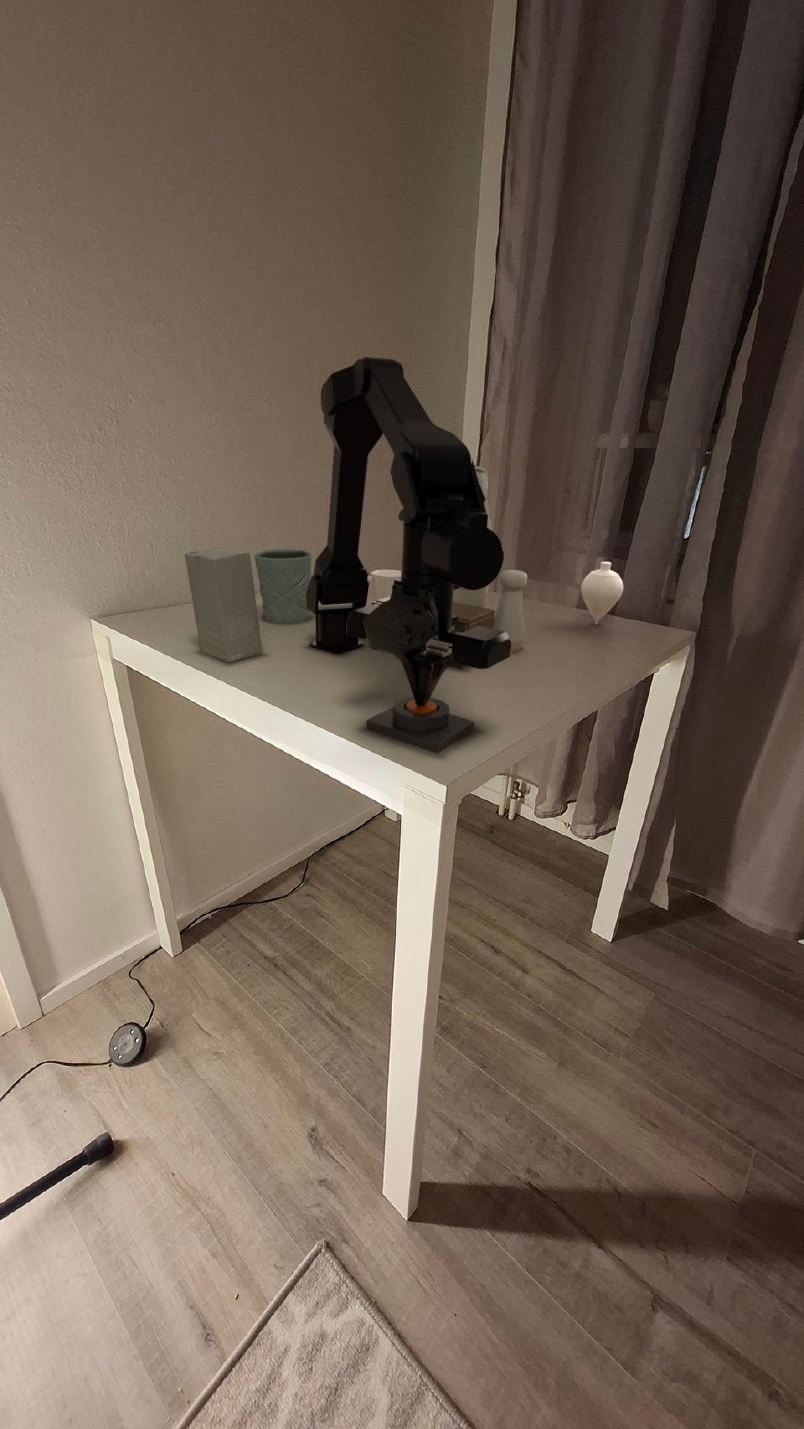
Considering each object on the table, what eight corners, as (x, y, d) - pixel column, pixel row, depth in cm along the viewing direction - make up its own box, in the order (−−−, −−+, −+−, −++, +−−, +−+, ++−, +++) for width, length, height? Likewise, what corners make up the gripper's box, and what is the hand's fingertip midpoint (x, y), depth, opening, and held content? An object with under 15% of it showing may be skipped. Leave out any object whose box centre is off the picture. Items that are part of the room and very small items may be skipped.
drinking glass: (323, 618, 117) (322, 554, 112) (281, 628, 110) (278, 560, 105) (289, 608, 123) (287, 547, 118) (247, 617, 116) (243, 552, 111)
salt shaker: (523, 656, 100) (532, 575, 95) (487, 652, 101) (495, 573, 96) (523, 645, 105) (532, 569, 100) (490, 642, 106) (497, 566, 101)
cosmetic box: (263, 655, 96) (257, 552, 90) (223, 665, 91) (213, 557, 85) (233, 643, 101) (225, 544, 95) (193, 652, 96) (182, 549, 90)
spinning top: (584, 617, 124) (593, 557, 119) (621, 624, 120) (633, 562, 115) (569, 625, 119) (579, 562, 114) (608, 632, 114) (620, 567, 110)
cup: (404, 619, 119) (405, 577, 115) (352, 616, 119) (352, 574, 116) (406, 610, 125) (407, 570, 122) (357, 607, 125) (357, 567, 122)
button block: (366, 729, 73) (366, 706, 71) (405, 708, 79) (406, 687, 77) (437, 754, 67) (438, 729, 66) (473, 730, 73) (475, 707, 72)
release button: (399, 719, 72) (400, 705, 71) (417, 710, 75) (417, 696, 74) (424, 727, 70) (425, 713, 69) (441, 717, 73) (442, 704, 72)
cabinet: (465, 668, 94) (469, 619, 91) (375, 645, 103) (375, 600, 100) (490, 656, 100) (495, 609, 96) (403, 634, 109) (404, 592, 106)
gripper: (311, 568, 64) (315, 705, 71) (464, 596, 54) (453, 753, 61) (377, 555, 73) (375, 679, 79) (520, 578, 63) (505, 717, 69)
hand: (421, 704), depth 72 cm, fingers closed, pressing on release button
